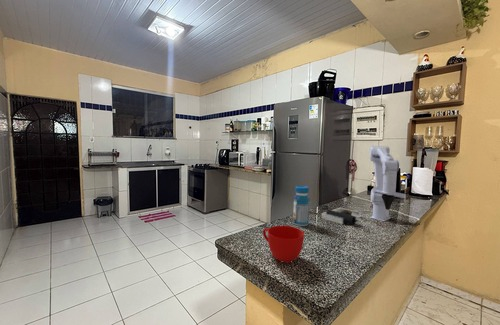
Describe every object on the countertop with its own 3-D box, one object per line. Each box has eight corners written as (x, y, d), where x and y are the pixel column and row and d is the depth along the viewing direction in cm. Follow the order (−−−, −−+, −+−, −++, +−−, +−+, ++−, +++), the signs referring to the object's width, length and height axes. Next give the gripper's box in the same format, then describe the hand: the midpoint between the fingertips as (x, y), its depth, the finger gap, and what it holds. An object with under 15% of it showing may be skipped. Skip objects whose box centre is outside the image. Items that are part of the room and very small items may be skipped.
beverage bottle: (302, 227, 113) (303, 188, 112) (289, 223, 120) (290, 186, 118) (312, 224, 119) (313, 187, 117) (299, 220, 125) (300, 184, 124)
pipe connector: (336, 206, 136) (361, 212, 124) (336, 215, 136) (361, 221, 125) (325, 210, 129) (351, 216, 117) (325, 219, 129) (351, 226, 118)
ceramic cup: (273, 244, 94) (273, 220, 93) (309, 258, 82) (310, 232, 81) (252, 254, 84) (252, 228, 84) (289, 272, 73) (290, 242, 72)
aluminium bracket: (340, 211, 143) (340, 207, 142) (360, 217, 133) (360, 212, 132) (321, 218, 129) (321, 213, 129) (342, 224, 120) (342, 218, 119)
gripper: (371, 182, 118) (369, 207, 119) (403, 186, 107) (401, 214, 108) (376, 181, 123) (375, 205, 124) (407, 184, 112) (406, 211, 113)
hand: (387, 209), depth 116 cm, fingers closed
